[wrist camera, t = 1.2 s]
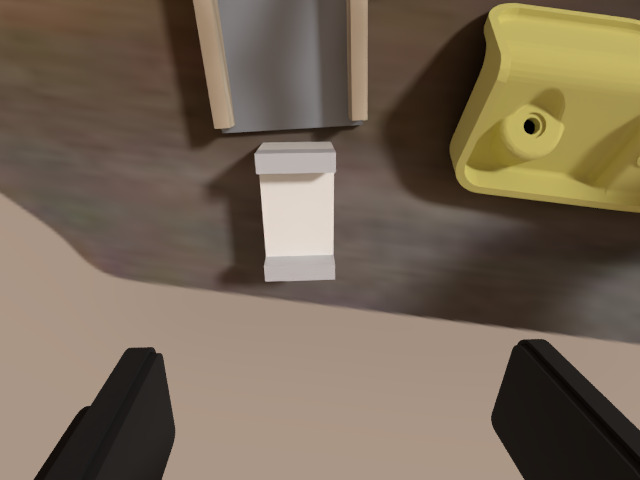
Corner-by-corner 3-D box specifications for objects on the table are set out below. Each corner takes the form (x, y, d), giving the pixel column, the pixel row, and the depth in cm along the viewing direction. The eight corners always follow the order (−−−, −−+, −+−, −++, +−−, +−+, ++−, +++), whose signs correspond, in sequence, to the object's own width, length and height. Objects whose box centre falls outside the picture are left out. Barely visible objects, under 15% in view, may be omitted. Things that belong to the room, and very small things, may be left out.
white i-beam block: (330, 141, 26) (335, 152, 22) (329, 249, 30) (334, 279, 25) (263, 142, 26) (254, 153, 21) (271, 251, 30) (265, 281, 25)
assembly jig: (360, -67, 21) (367, -87, 19) (361, 124, 25) (367, 127, 23) (194, -59, 21) (179, -78, 18) (224, 132, 25) (215, 136, 23)
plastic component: (444, 189, 25) (515, 41, 18) (431, 133, 30) (482, -2, 23) (709, 222, 26) (887, 90, 18) (654, 161, 31) (777, 38, 23)
